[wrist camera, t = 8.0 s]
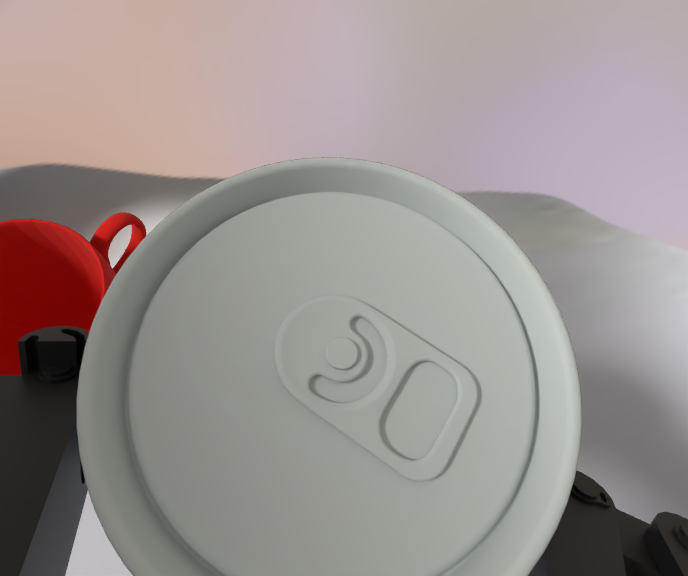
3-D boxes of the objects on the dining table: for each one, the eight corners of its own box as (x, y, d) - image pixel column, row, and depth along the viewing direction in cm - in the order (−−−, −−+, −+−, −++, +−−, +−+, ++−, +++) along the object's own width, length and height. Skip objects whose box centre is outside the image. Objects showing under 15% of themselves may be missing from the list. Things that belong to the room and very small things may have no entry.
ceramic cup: (219, 295, 37) (189, 243, 28) (73, 454, 31) (-27, 454, 22) (120, 225, 39) (63, 155, 30) (-34, 360, 33) (-167, 324, 24)
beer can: (251, 547, 17) (-38, 1048, 3) (218, 369, 20) (-8, 160, 6) (421, 485, 19) (797, 597, 4) (367, 328, 22) (487, 82, 7)
